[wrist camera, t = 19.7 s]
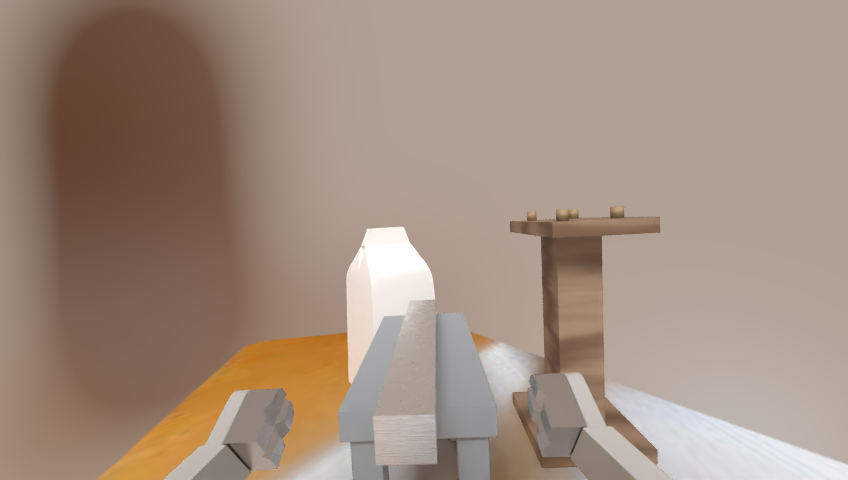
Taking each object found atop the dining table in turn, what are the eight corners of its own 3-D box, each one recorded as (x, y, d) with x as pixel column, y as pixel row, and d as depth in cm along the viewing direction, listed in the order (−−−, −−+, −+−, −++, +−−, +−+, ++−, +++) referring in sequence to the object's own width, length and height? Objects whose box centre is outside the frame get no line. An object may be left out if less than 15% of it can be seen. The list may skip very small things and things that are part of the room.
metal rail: (437, 464, 15) (434, 414, 15) (375, 465, 15) (372, 416, 15) (436, 320, 37) (435, 299, 37) (411, 321, 37) (409, 300, 37)
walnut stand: (672, 479, 31) (670, 203, 30) (549, 483, 32) (541, 210, 30) (590, 391, 47) (586, 209, 46) (509, 394, 47) (502, 213, 46)
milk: (377, 412, 45) (365, 229, 43) (348, 380, 54) (338, 230, 53) (444, 384, 51) (436, 225, 50) (408, 360, 61) (400, 226, 59)
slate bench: (505, 626, 21) (496, 405, 20) (353, 629, 21) (338, 412, 20) (468, 427, 41) (463, 312, 40) (391, 429, 41) (384, 316, 40)
